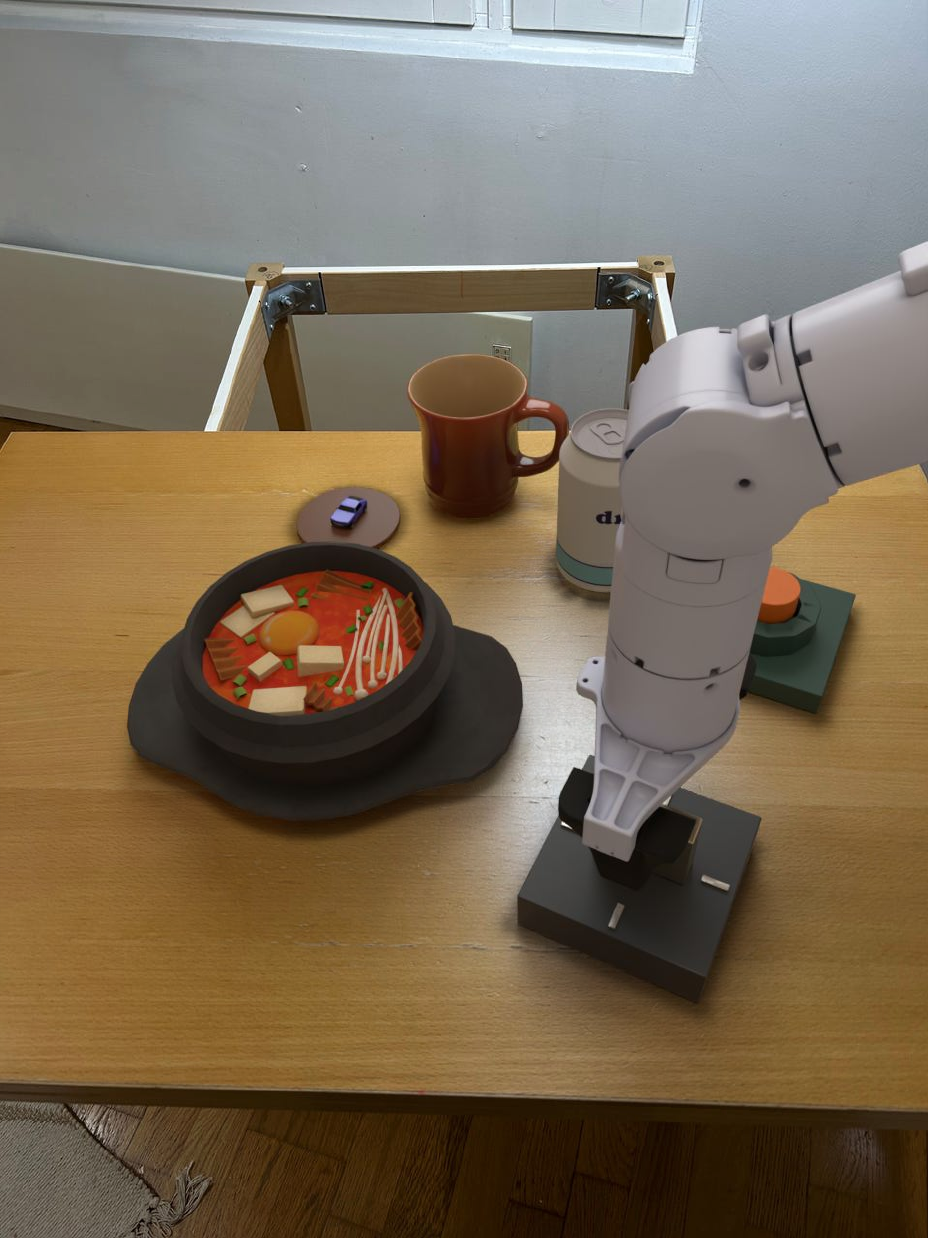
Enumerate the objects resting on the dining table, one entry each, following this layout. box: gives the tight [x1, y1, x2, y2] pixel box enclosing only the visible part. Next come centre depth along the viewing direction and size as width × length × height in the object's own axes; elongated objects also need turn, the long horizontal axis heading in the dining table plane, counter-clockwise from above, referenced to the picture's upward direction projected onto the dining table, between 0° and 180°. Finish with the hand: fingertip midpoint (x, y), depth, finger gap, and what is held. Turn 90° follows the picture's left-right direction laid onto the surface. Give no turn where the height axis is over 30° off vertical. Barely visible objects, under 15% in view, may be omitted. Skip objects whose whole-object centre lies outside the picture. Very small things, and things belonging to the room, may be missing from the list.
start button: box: [757, 566, 801, 624], centre depth 64 cm, size 4×4×2 cm
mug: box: [406, 353, 570, 520], centre depth 74 cm, size 12×9×10 cm
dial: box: [653, 804, 703, 885], centre depth 50 cm, size 5×2×4 cm, turn 63°
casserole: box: [126, 541, 524, 821], centre depth 60 cm, size 25×19×8 cm
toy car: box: [296, 486, 401, 549], centre depth 76 cm, size 8×8×2 cm
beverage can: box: [555, 407, 629, 593], centre depth 68 cm, size 7×7×12 cm
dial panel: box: [516, 754, 763, 1004], centre depth 53 cm, size 10×10×3 cm
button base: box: [748, 571, 857, 714], centre depth 65 cm, size 10×10×4 cm
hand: (648, 815), depth 49 cm, fingers open, 7 cm apart
